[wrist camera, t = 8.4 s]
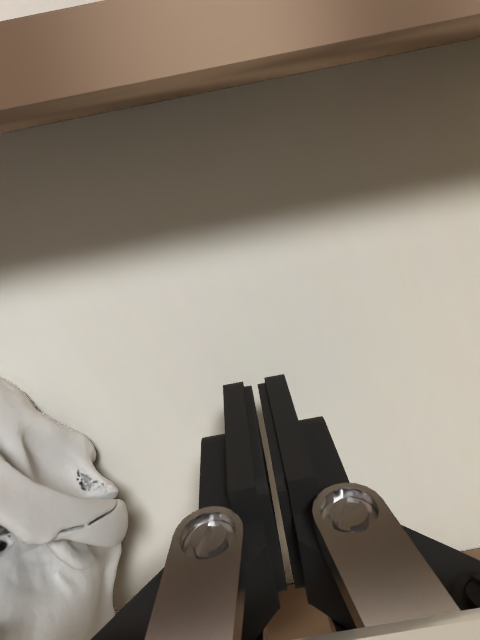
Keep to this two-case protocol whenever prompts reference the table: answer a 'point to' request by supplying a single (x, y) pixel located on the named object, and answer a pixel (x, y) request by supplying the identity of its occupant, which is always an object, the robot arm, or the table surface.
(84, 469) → the skull
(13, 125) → the bay
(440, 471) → the table surface
